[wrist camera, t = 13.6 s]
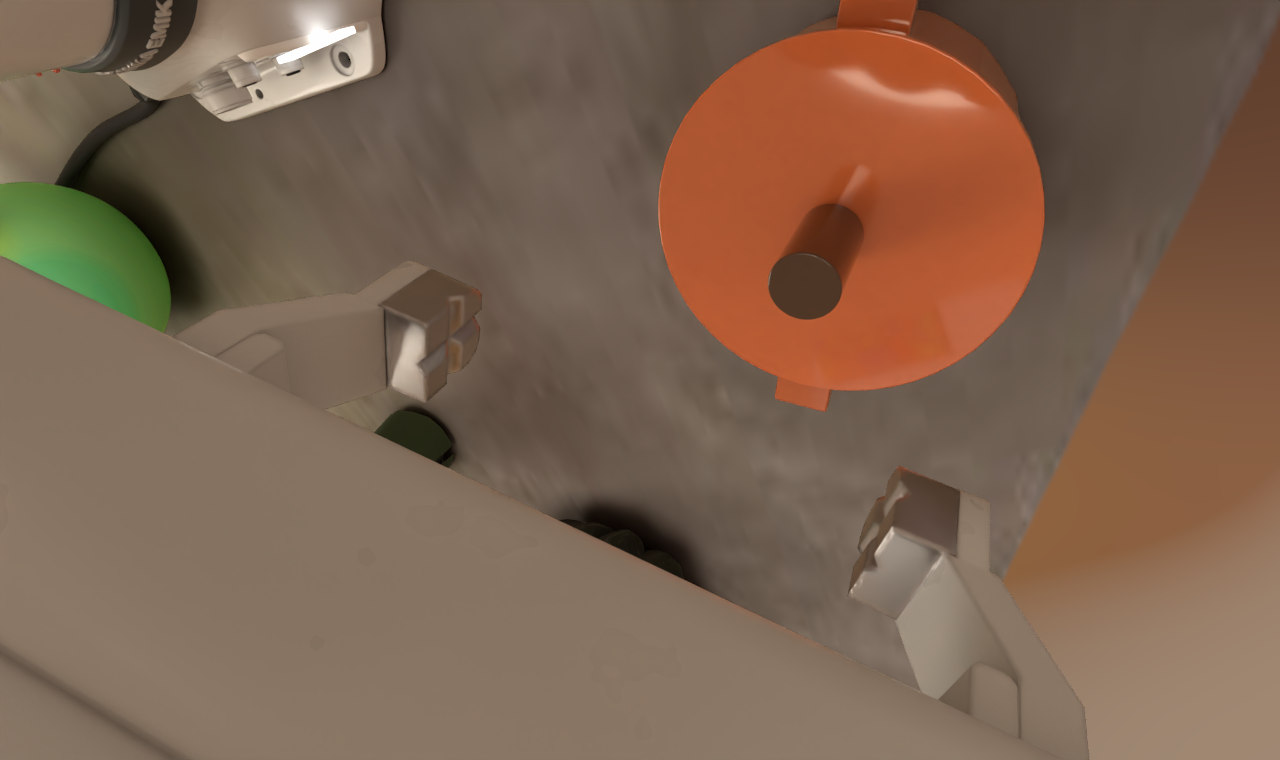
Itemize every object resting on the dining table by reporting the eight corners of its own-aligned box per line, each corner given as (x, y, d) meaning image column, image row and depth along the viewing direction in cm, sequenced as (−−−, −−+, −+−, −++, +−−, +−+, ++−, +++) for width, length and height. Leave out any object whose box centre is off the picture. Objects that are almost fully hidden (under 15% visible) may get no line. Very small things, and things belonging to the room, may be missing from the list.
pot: (723, 296, 41) (665, 380, 34) (761, -78, 31) (688, -63, 24) (956, 347, 37) (943, 454, 30) (1092, -60, 27) (1118, -36, 20)
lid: (661, 334, 34) (609, 402, 29) (677, 5, 26) (608, 32, 21) (975, 411, 29) (968, 503, 25) (1113, 45, 21) (1136, 89, 17)
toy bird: (121, 330, 70) (-48, 417, 59) (10, 154, 61) (-211, 217, 50) (244, 332, 62) (76, 433, 51) (137, 131, 53) (-93, 200, 42)
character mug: (470, 496, 61) (367, 614, 52) (402, 473, 64) (291, 583, 54) (452, 392, 55) (330, 505, 45) (376, 371, 57) (245, 474, 48)
